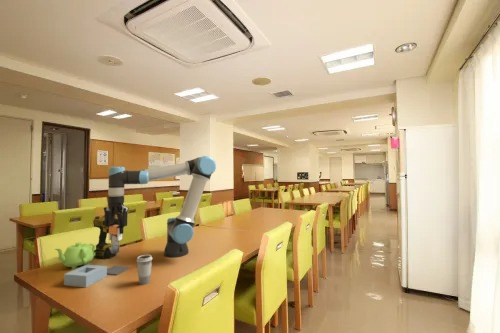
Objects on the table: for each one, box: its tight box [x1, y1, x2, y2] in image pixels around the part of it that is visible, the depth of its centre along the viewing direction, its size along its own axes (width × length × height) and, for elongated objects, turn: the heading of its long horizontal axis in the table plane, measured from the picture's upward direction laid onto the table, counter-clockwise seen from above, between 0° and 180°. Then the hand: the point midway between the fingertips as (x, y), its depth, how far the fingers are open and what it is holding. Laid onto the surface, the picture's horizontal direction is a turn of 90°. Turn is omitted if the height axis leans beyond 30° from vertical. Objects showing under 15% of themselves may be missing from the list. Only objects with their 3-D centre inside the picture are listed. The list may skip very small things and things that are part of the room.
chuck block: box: [63, 264, 108, 288], centre depth 116 cm, size 12×12×5 cm
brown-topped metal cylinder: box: [108, 225, 120, 254], centre depth 128 cm, size 4×4×14 cm
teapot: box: [54, 242, 96, 270], centre depth 135 cm, size 16×14×13 cm
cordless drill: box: [92, 215, 118, 260], centre depth 151 cm, size 8×21×25 cm, turn 78°
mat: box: [107, 265, 131, 276], centre depth 128 cm, size 10×10×1 cm
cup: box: [136, 254, 153, 286], centre depth 113 cm, size 7×7×12 cm
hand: (115, 239), depth 128 cm, fingers closed on brown-topped metal cylinder, 4 cm apart
